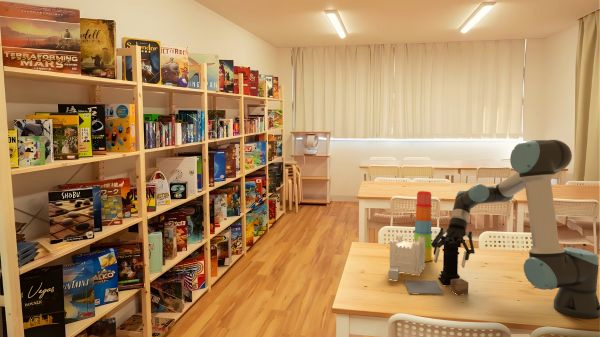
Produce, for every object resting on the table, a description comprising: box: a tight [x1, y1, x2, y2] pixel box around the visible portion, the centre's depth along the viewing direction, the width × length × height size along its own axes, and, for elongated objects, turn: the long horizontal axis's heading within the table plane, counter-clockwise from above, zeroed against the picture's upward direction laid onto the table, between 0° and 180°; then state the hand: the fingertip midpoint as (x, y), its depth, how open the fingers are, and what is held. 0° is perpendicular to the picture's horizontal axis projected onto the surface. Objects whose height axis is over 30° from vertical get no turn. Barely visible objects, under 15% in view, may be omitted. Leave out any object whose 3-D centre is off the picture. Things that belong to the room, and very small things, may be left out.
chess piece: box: [437, 235, 462, 286], centre depth 194 cm, size 8×8×20 cm
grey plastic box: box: [388, 265, 400, 281], centre depth 200 cm, size 6×4×5 cm, turn 161°
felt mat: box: [403, 279, 445, 295], centre depth 190 cm, size 14×14×1 cm
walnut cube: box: [449, 277, 469, 296], centre depth 184 cm, size 5×5×5 cm
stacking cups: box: [413, 190, 434, 262], centre depth 224 cm, size 10×10×35 cm
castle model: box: [389, 233, 426, 276], centre depth 212 cm, size 14×14×15 cm
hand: (448, 263), depth 192 cm, fingers open, 11 cm apart
